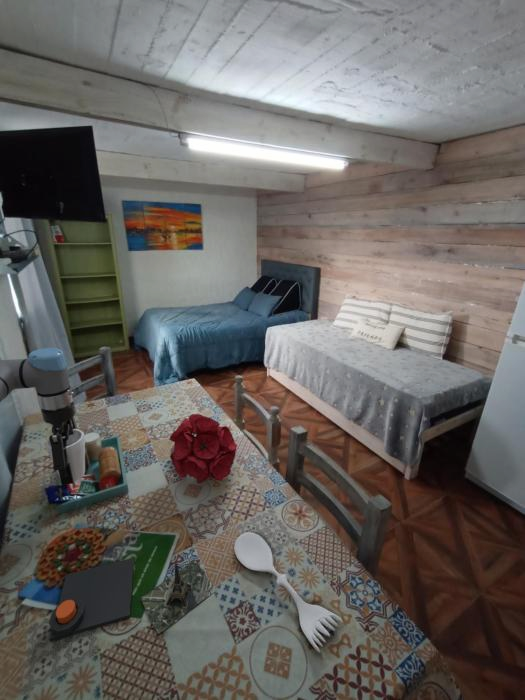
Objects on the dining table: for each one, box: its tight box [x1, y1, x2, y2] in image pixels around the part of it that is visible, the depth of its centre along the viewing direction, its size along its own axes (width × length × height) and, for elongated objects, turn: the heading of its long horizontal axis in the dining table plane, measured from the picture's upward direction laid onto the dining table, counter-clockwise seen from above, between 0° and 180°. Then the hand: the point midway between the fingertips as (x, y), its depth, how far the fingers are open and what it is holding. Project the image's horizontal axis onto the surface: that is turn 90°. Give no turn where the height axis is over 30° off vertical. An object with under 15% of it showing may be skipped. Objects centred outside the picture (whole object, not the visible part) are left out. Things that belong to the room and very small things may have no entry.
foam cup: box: [44, 428, 86, 483], centre depth 91 cm, size 10×9×13 cm
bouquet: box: [168, 413, 238, 485], centre depth 113 cm, size 22×24×30 cm
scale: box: [48, 557, 135, 642], centre depth 75 cm, size 16×14×3 cm
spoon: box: [233, 531, 344, 653], centre depth 79 cm, size 9×32×4 cm, turn 41°
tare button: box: [56, 600, 76, 624], centre depth 70 cm, size 4×4×2 cm
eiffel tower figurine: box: [140, 558, 217, 635], centre depth 75 cm, size 15×10×13 cm
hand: (71, 470), depth 93 cm, fingers closed on foam cup, 9 cm apart
